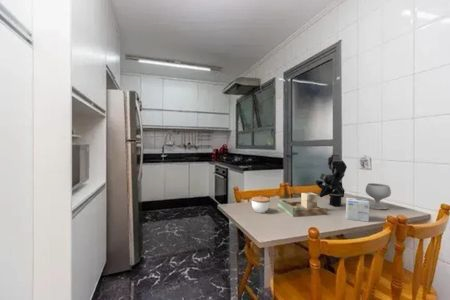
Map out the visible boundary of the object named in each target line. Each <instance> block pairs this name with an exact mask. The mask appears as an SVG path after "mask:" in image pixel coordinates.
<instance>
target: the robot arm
mask: <svg viewBox="0 0 450 300" xmlns="http://www.w3.org/2000/svg"><path fill="white" fill-rule="evenodd" d="M327 166H328V169H329V170H331V174H330V173H329V174H326V173H325V174H324V173H321V175H320V177H319V179H320V180H319V179H318V180H316V181H315V184H316V185H317V187H318V188H319V189H320V190H321V191H320V192H319V197H320V198H323V197H326V196H329V197H330V198H329V203H328V205H329V206H333V207H343V204H342V198H344V197H345V189H344V187H343V183H342V182H341V180H342V179H343V178H344V177H345V173H346V171H347V169H348V168H347V167H348V166H347V165H346V162H345V161H344V160H342V159H341V157H340V155H339V154H331V156H330V157H328V159H327Z"/></svg>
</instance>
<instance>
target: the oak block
mask: <svg viewBox="0 0 450 300" xmlns="http://www.w3.org/2000/svg"><path fill="white" fill-rule="evenodd" d="M300 195H301V197H300V198H301V200H300V201H301V206H303V207H305V208H317V206H318V193H317V194H316V193H314V192H301V194H300Z"/></svg>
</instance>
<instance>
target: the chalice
mask: <svg viewBox="0 0 450 300" xmlns="http://www.w3.org/2000/svg"><path fill="white" fill-rule="evenodd" d="M365 193H366V195H368V196H369V197H371V198H373V199H374V200H375V203H373V204H372V203H371V204H370V203H369V209H374V210H380V209H387V208H388V207H387V206H385V205H381V204H380V202H381V201H382V200H383V199H387V198H389V197H391V195H392V190H391V187H390V185H388V184H385V183H374V182H373V183H371V182H370V183H367V184H366V186H365ZM387 210H388V209H387Z"/></svg>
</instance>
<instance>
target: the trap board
mask: <svg viewBox="0 0 450 300" xmlns="http://www.w3.org/2000/svg"><path fill="white" fill-rule="evenodd" d="M277 209H279V210H280V211H282V212H283V213H286V214H287V215H289V216H291V217H310V216H323V215H327V214H328V208H327V207H320V206H318V205H317V208H305V207H303V206H301V200H300V201H289V200H288V199H278V200H277Z"/></svg>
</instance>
